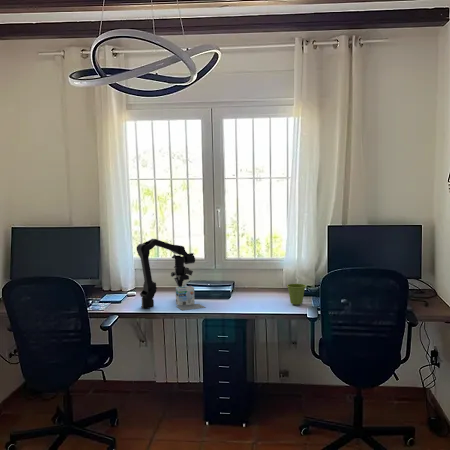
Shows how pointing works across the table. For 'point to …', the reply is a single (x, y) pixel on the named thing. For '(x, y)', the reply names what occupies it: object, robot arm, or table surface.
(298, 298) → the plant pot
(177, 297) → the light bulb box
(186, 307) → the slate mat
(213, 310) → the table surface
